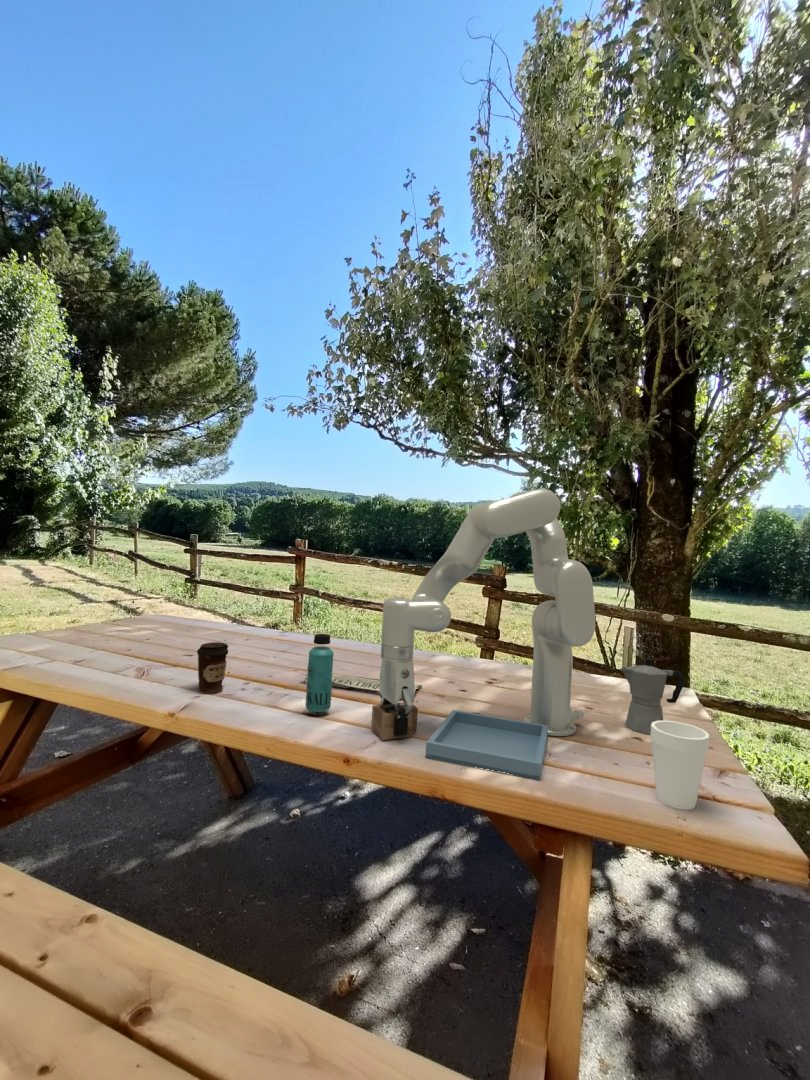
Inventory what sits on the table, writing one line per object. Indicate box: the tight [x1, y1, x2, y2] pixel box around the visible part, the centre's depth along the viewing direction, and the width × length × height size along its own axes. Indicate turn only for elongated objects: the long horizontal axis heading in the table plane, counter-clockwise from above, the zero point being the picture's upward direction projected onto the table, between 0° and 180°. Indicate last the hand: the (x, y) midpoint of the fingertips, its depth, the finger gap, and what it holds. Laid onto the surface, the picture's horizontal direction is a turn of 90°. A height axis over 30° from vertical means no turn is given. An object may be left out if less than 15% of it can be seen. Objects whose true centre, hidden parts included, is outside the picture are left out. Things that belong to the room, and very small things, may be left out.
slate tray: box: [425, 709, 549, 781], centre depth 113 cm, size 23×23×3 cm
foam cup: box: [649, 720, 710, 811], centre depth 93 cm, size 10×9×13 cm
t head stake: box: [383, 705, 395, 713], centre depth 117 cm, size 3×1×6 cm, turn 116°
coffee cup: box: [196, 641, 229, 694], centre depth 142 cm, size 9×8×13 cm
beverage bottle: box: [304, 633, 335, 713], centre depth 129 cm, size 6×7×20 cm
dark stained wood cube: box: [370, 704, 419, 741], centre depth 118 cm, size 10×7×6 cm
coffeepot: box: [619, 658, 686, 736], centre depth 131 cm, size 15×9×18 cm, turn 76°
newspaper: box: [300, 672, 423, 695], centre depth 154 cm, size 35×12×4 cm, turn 76°
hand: (393, 728), depth 118 cm, fingers closed on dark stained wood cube, 6 cm apart
